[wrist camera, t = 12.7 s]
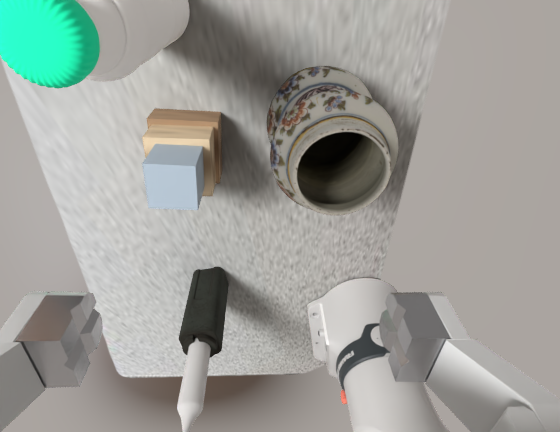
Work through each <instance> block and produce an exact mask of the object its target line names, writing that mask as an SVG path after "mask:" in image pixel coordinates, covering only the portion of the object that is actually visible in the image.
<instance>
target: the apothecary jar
mask: <svg viewBox="0 0 560 432" xmlns="http://www.w3.org/2000/svg"><path fill="white" fill-rule="evenodd" d="M267 131H268V137H269V140H270V143H271V152H270V160H271V167H272V171H273V174H274V177H275V179H276V181H277V183H278V185H279V187H280V188H281V189H282V191H283V192H284V193H285V194H286V195H287V196H288V197H289V198H290V199H292V200H293V201H294V202H296V203H297V204H299V205H301V206H303V207H306V208H308V209H312V210H314V211H316V212H319V213H322V214H326V215H345V214H350V213H353V212H356V211H358V210H360V209H362V208H364V207H366V206H368V205H369V204H371V203H372V202H373V201H374V200H376V199H377V198H378V197H379V196H380V194H381V193H382V192H383V191H384V189H385V187H386V186H387V184H388V181H389V179H390V176H391V174H392V172H393V170H394V168H395V165H396V162H397V158H398V150H399V143H398V136H397V132H396V128H395V125H394V123H393V121H392V119H391V117H390V116H389V114H388V113H387V111H386V110H385V109H384V108H383V107H382V106H381V105H380V104H379V103H377V102H376V101H375V100H373V99H372V97H371V94H370V92H369V91H368V89H367V88H366V86H365V85H364V84H363V83H362V81H361V80H359V79H358V78H357V77H356V76H354V75H353V74H351V73H350V72H348V71H346V70H343V69H340V68H336V67H331V66H319V67H311V68H306V69H303V70H301V71H299V72H297V73H295V74H294V75H292V76H291V77H290V78H289V79H288V80H287V81H286V82H285V83H284V84H283V85H282V87H281V88H280V89H279V90H278V92H277V93H276V95H275V96H274V98H273V100H272V102H271V105H270V108H269V112H268V116H267Z"/></svg>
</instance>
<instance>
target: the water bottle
mask: <svg viewBox="0 0 560 432" xmlns="http://www.w3.org/2000/svg"><path fill="white" fill-rule="evenodd" d="M189 15H190V10H189V3H188V0H0V55H1V57H2V59H3V60H4V61H5V62H7V64H8V66H9V67H10V68H12V69H14V71H15V72H16V73H17V74H20V75H21V76H22V77H23V78H24V79H28V80H29V81H30V82H32V83H37V84H38V85H40V86H46V87H54V88H62V87H69V86H72V85H74V84H77V83H79V82H81V81H82V80H83V79H85V78H86V79H90V80H94V81H114V80H118V79H121V78H124V77H126V76H128V75H129V74H131V73H132V72H134V71H135V70H136V69H137V68H138V67H139V66H140V65H142V64H143V63H145V62H146V61H148V60H149V59H151V58H152V57H153V56H155V55H156V54H157V53H158V52H159V51H160V50H162V49H164V48H165V47H167V46H168V45H170V44H171V43H172V42H174V41H176V40H177V39H178V38H179V37H180V36H181V35H182V34H183V33H184V31H185V29H186V27H187V25H188V21H189Z"/></svg>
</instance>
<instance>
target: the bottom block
mask: <svg viewBox="0 0 560 432" xmlns="http://www.w3.org/2000/svg"><path fill="white" fill-rule="evenodd" d="M147 123H148V129H149V127H150V126H151V125H152V124H153V125H181V126H210V127H213V129H214V150H215V170H216V183H220V179H221V174H222V141H221V112H211V111H192V110H173V109H154V110H153V111H152V113H151V114H150V115H149V116H148V118H147Z"/></svg>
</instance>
